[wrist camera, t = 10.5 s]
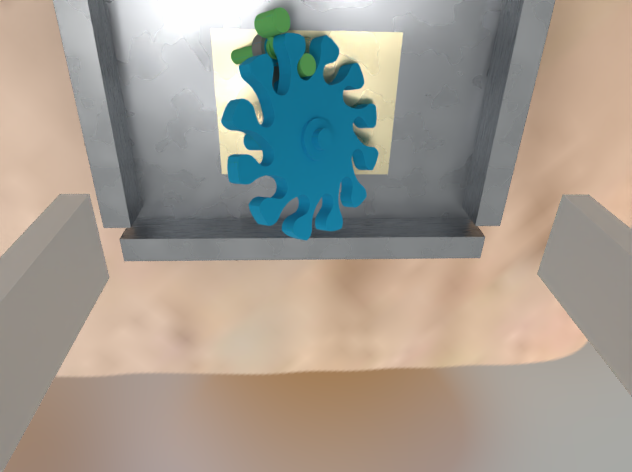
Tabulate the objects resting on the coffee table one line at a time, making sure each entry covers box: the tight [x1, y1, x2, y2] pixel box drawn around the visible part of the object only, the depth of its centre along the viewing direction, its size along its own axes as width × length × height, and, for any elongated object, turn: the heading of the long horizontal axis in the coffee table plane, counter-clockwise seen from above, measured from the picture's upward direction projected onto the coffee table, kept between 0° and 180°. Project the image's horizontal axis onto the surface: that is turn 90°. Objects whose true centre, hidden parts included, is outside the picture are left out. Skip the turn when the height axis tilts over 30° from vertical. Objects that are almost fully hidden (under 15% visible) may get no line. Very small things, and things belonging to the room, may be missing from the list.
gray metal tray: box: [53, 0, 555, 261], centre depth 26 cm, size 17×23×4 cm
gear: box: [221, 7, 379, 241], centre depth 25 cm, size 11×6×10 cm
